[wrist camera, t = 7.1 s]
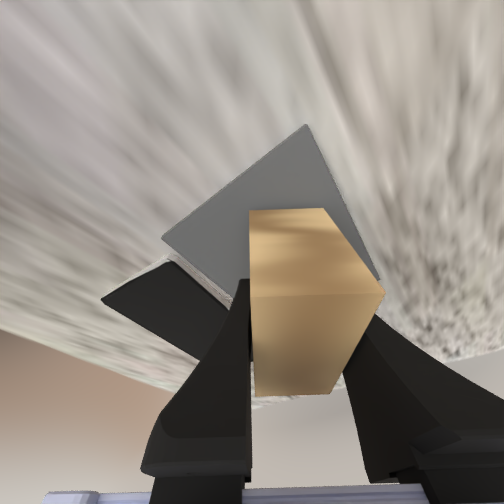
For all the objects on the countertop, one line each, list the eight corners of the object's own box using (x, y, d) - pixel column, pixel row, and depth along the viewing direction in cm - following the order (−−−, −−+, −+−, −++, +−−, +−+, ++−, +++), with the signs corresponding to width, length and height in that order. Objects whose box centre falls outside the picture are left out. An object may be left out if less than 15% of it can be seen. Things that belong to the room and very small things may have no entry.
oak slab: (252, 305, 15) (255, 396, 11) (249, 210, 11) (250, 297, 6) (304, 303, 15) (329, 394, 11) (323, 207, 11) (386, 292, 6)
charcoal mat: (163, 235, 13) (160, 238, 12) (305, 124, 9) (307, 124, 9) (267, 323, 18) (267, 326, 18) (377, 275, 15) (380, 279, 15)
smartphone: (170, 255, 13) (279, 353, 20) (176, 245, 14) (278, 341, 21) (96, 301, 15) (218, 373, 23) (105, 289, 16) (219, 362, 24)
